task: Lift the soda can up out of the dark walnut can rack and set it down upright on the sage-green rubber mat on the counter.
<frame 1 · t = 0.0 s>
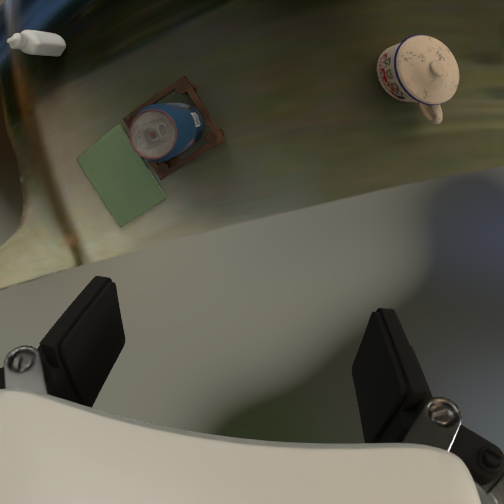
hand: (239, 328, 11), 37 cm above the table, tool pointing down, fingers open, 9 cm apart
soda can: (182, 125, 44), on the table
mat: (119, 176, 47), on the table
can rack: (181, 125, 44), on the table
teacup with lid: (406, 82, 38), on the table
eye dropper bottle: (56, 44, 38), on the table
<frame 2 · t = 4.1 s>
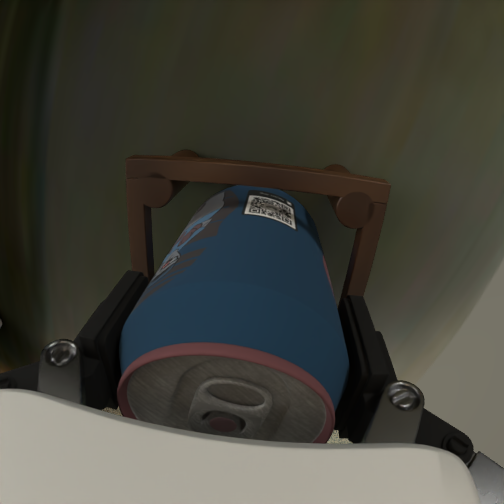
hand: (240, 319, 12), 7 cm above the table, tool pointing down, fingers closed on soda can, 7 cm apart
soda can: (254, 237, 18), on the table, touching gripper
can rack: (254, 239, 18), on the table
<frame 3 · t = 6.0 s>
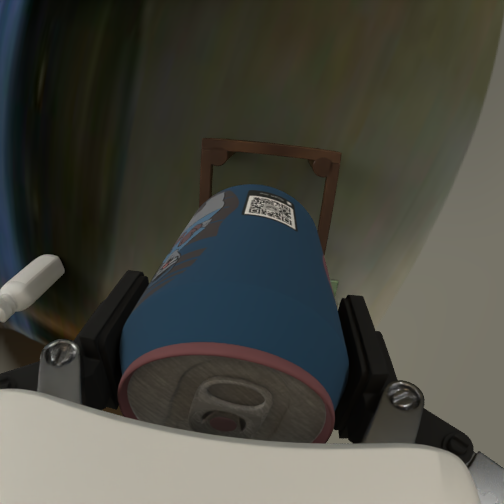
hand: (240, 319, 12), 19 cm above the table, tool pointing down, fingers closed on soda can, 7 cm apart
soda can: (254, 237, 18), point 12 cm above the table, touching gripper
can rack: (267, 194, 29), on the table
eye dropper bottle: (50, 265, 35), on the table
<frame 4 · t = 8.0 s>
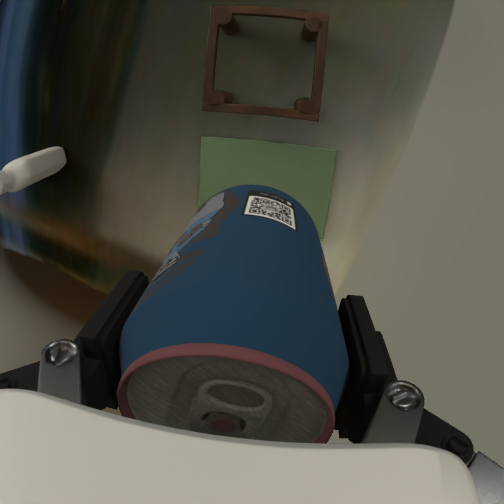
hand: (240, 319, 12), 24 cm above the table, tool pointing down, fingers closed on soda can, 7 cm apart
soda can: (254, 237, 18), point 17 cm above the table, touching gripper
mat: (264, 187, 34), on the table
can rack: (266, 65, 28), on the table
eye dropper bottle: (52, 160, 34), on the table
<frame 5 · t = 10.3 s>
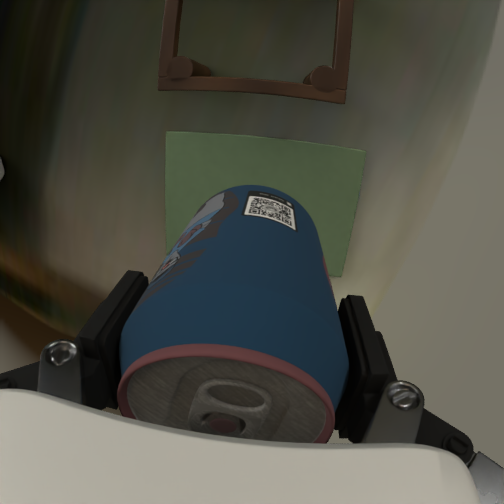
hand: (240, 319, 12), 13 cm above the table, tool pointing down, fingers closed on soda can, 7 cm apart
soda can: (254, 238, 18), point 6 cm above the table, touching gripper
mat: (259, 205, 24), on the table
can rack: (261, 26, 18), on the table
when the fingers open (8 cm above the table, at t = 12.2 s): soda can stays where it is, resting on mat.
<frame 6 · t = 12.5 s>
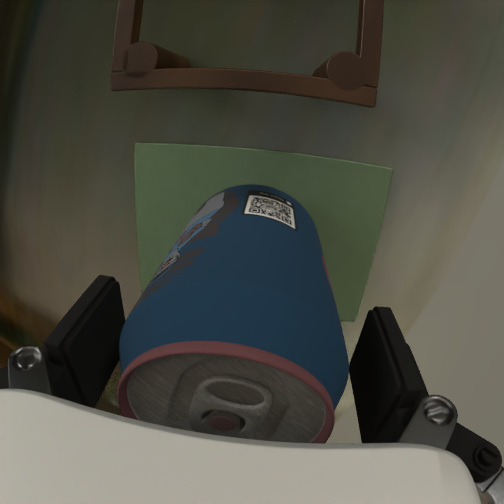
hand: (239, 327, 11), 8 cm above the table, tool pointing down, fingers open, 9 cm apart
soda can: (254, 237, 18), resting on mat
mat: (255, 237, 19), on the table
can rack: (256, 4, 13), on the table
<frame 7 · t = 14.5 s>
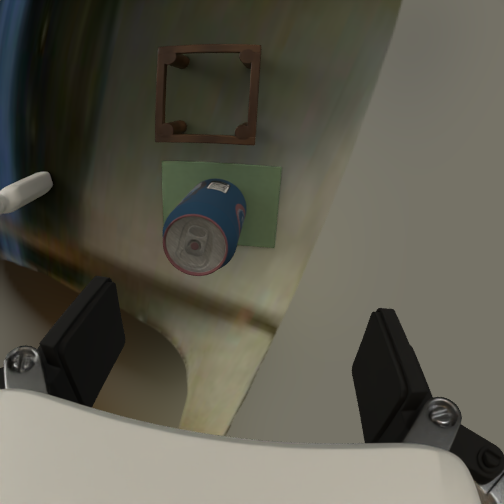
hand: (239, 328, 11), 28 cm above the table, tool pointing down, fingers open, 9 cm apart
soda can: (218, 203, 38), resting on mat
mat: (219, 203, 39), on the table
can rack: (214, 94, 33), on the table
eye dropper bottle: (41, 183, 39), on the table
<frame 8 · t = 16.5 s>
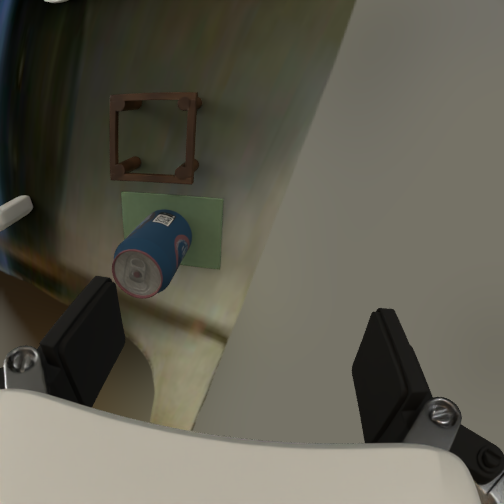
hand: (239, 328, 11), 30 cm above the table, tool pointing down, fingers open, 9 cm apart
soda can: (169, 230, 43), resting on mat
mat: (170, 229, 43), on the table
can rack: (163, 133, 37), on the table
eye dropper bottle: (23, 205, 43), on the table
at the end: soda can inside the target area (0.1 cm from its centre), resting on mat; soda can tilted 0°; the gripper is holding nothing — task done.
